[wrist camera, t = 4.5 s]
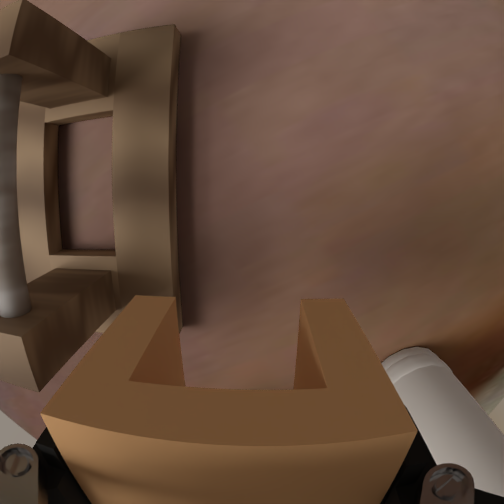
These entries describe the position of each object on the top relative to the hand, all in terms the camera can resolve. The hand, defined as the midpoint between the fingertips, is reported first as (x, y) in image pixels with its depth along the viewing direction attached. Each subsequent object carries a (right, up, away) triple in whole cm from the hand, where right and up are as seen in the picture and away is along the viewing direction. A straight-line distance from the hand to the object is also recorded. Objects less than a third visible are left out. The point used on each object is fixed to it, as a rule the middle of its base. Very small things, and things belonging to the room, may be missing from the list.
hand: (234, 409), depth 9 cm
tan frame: (-12, +10, +13) cm, 20 cm away
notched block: (0, +1, +2) cm, 2 cm away
